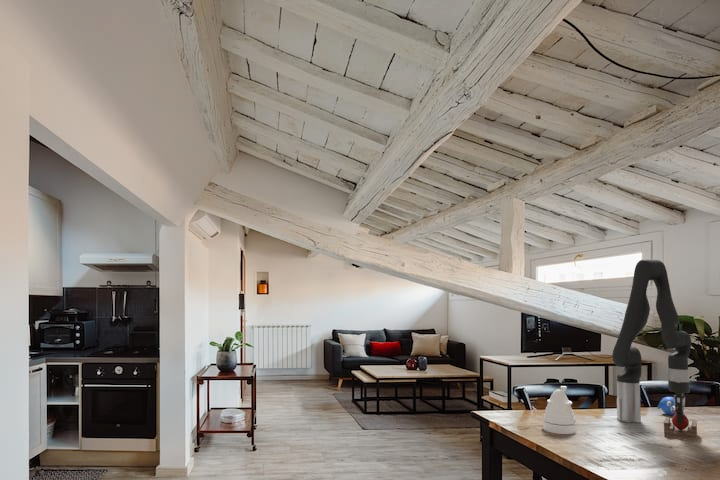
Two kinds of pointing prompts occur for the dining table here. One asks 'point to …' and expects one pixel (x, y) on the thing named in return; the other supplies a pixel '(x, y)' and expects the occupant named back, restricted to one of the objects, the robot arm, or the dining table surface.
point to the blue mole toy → (667, 405)
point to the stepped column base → (680, 431)
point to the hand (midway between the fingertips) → (680, 421)
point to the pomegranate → (680, 425)
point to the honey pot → (559, 414)
